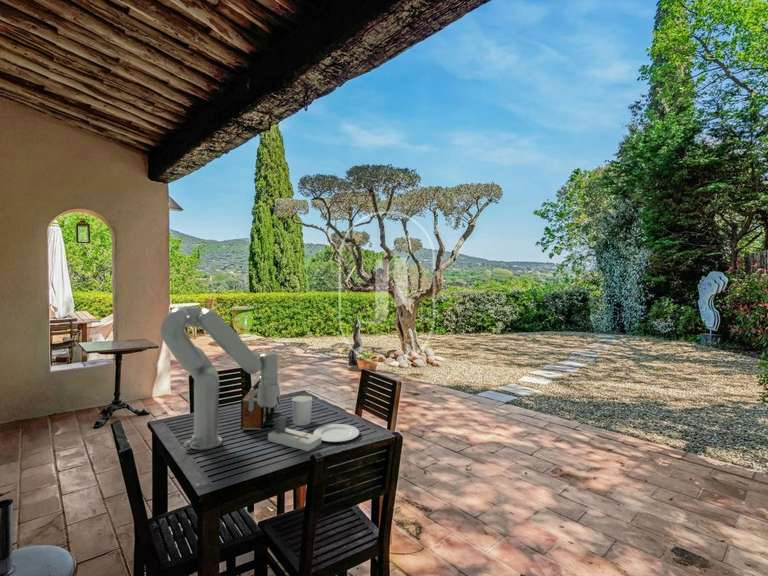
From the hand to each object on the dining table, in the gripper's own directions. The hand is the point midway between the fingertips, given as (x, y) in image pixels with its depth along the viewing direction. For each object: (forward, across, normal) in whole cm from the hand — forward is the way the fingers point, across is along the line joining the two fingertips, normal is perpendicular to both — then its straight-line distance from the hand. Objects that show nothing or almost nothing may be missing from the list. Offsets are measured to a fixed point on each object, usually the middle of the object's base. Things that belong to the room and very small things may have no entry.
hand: (269, 420), depth 181 cm
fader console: (+7, +15, 0) cm, 16 cm away
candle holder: (+7, +3, +20) cm, 21 cm away
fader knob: (+3, +7, 0) cm, 8 cm away
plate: (+8, +27, +15) cm, 31 cm away
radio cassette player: (+7, -17, +11) cm, 21 cm away
